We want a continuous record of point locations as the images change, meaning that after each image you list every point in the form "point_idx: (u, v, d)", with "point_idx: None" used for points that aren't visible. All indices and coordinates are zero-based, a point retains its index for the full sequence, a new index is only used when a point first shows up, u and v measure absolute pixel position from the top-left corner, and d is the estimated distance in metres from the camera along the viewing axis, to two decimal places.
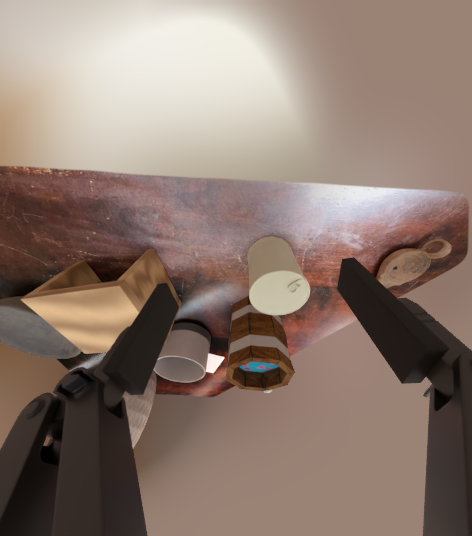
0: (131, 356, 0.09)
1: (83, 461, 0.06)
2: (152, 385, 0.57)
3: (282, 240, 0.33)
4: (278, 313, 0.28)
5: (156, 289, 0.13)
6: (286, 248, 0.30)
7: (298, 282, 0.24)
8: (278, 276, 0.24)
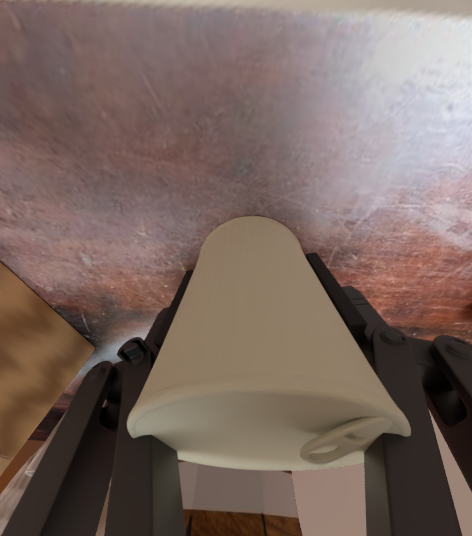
0: None
1: None
2: None
3: (279, 226, 0.13)
4: (263, 467, 0.08)
5: (187, 275, 0.14)
6: (290, 246, 0.10)
7: (361, 432, 0.04)
8: (249, 403, 0.04)
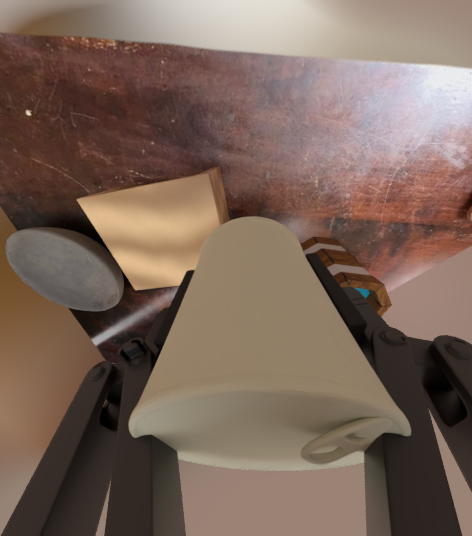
0: None
1: None
2: None
3: (279, 226, 0.13)
4: (264, 466, 0.08)
5: (187, 275, 0.14)
6: (290, 246, 0.10)
7: (362, 432, 0.04)
8: (250, 404, 0.04)
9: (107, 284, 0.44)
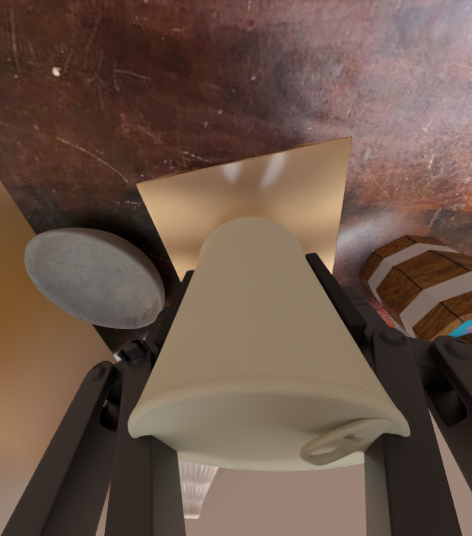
0: None
1: None
2: None
3: (279, 226, 0.13)
4: (263, 467, 0.08)
5: (186, 275, 0.14)
6: (290, 247, 0.10)
7: (360, 433, 0.04)
8: (249, 405, 0.04)
9: (141, 295, 0.36)
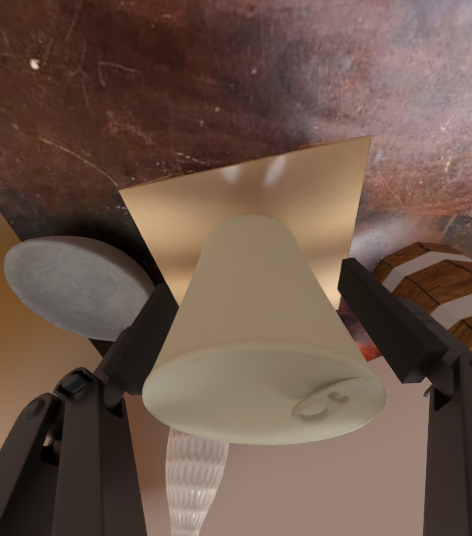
0: (131, 356, 0.09)
1: (83, 461, 0.06)
2: None
3: (276, 223, 0.13)
4: (261, 441, 0.09)
5: (156, 289, 0.13)
6: (286, 241, 0.11)
7: (342, 391, 0.05)
8: (248, 366, 0.05)
9: (134, 305, 0.34)
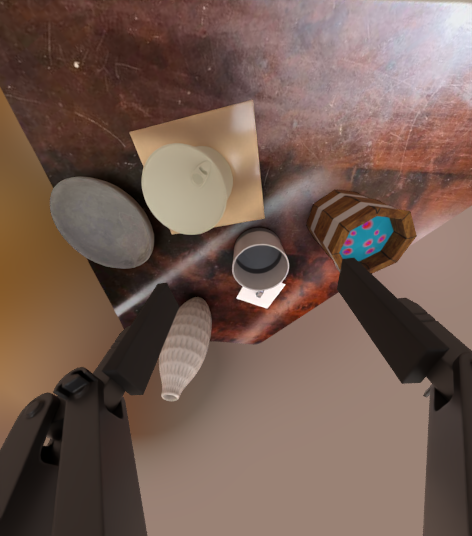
0: (131, 356, 0.09)
1: (83, 461, 0.06)
2: (209, 313, 0.54)
3: (213, 150, 0.25)
4: (194, 231, 0.21)
5: (156, 289, 0.13)
6: (212, 152, 0.23)
7: (203, 167, 0.17)
8: (173, 157, 0.17)
9: (136, 244, 0.46)
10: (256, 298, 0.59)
